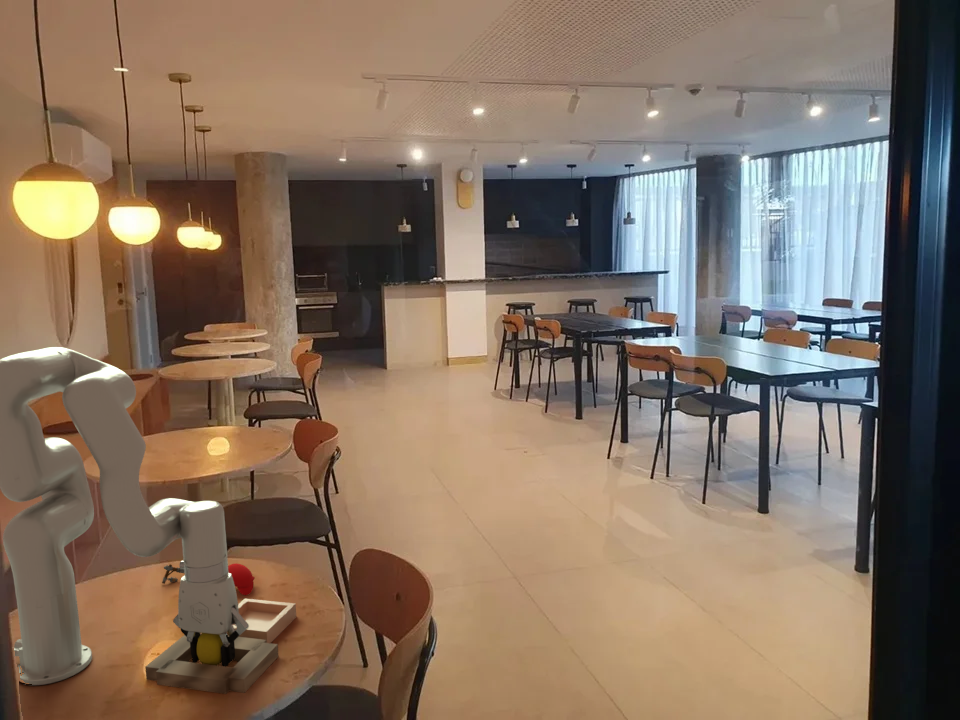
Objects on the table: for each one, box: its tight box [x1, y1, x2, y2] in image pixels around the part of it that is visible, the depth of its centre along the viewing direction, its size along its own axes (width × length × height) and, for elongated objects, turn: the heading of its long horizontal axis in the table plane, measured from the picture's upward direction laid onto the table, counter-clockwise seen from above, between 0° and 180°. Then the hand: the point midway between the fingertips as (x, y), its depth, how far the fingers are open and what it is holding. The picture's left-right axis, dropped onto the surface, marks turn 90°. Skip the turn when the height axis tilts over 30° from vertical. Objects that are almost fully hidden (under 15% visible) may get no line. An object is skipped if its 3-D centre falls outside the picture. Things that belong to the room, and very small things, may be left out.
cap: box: [228, 563, 256, 596], centre depth 169 cm, size 8×6×6 cm
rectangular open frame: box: [144, 633, 279, 695], centre depth 137 cm, size 20×14×2 cm
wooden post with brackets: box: [161, 563, 185, 585], centre depth 175 cm, size 2×8×4 cm, turn 130°
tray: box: [227, 598, 297, 643], centre depth 152 cm, size 12×12×3 cm
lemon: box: [197, 633, 223, 666], centre depth 137 cm, size 6×6×8 cm
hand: (213, 659), depth 137 cm, fingers closed on lemon, 5 cm apart
